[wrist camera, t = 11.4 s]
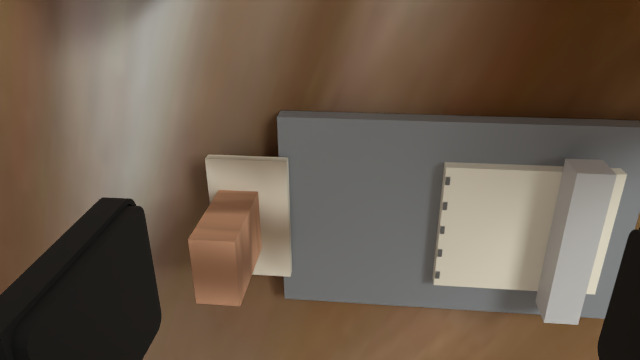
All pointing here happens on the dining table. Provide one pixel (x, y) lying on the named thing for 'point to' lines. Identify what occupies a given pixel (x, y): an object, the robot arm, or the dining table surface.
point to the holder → (460, 210)
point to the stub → (241, 227)
